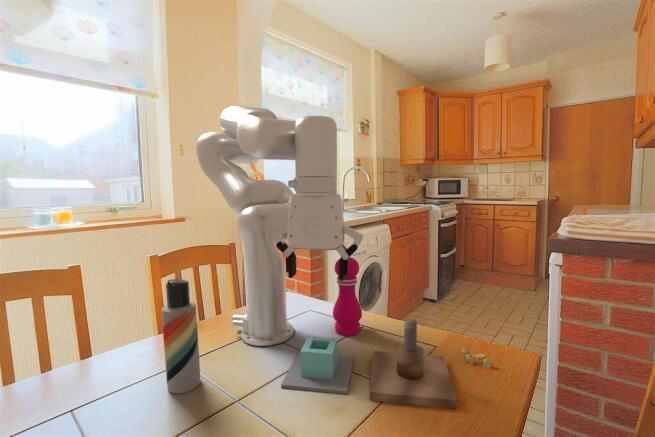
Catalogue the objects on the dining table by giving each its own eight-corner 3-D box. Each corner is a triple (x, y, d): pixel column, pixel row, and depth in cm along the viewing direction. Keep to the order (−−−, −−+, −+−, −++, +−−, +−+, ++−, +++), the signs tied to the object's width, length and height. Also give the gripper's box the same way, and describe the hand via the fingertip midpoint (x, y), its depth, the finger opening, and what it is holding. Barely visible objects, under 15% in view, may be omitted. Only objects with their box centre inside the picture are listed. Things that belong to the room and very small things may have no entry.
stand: (369, 400, 58) (369, 336, 56) (373, 357, 71) (373, 305, 70) (456, 408, 55) (458, 342, 54) (443, 363, 69) (444, 309, 68)
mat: (281, 387, 62) (281, 384, 61) (298, 354, 73) (298, 351, 73) (347, 394, 59) (347, 390, 59) (354, 358, 71) (354, 355, 71)
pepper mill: (363, 337, 81) (363, 254, 78) (332, 337, 81) (331, 254, 79) (360, 324, 88) (360, 248, 86) (333, 324, 88) (331, 248, 86)
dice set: (492, 371, 67) (492, 362, 66) (464, 368, 68) (464, 359, 68) (487, 358, 71) (487, 349, 71) (461, 355, 73) (461, 347, 73)
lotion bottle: (164, 383, 63) (156, 279, 61) (195, 372, 67) (189, 273, 65) (171, 398, 59) (163, 286, 57) (204, 386, 62) (198, 280, 60)
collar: (301, 376, 64) (300, 351, 63) (308, 359, 70) (308, 336, 69) (332, 379, 63) (332, 353, 62) (337, 362, 69) (337, 338, 68)
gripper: (264, 187, 60) (266, 281, 62) (362, 187, 57) (361, 286, 59) (277, 185, 67) (279, 269, 70) (365, 186, 64) (364, 273, 67)
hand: (317, 277), depth 64 cm, fingers open, 9 cm apart
